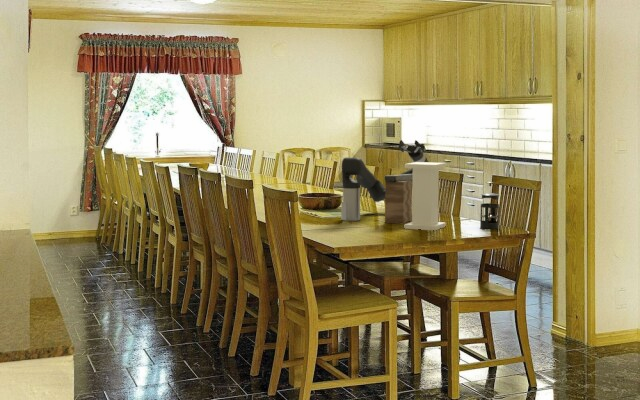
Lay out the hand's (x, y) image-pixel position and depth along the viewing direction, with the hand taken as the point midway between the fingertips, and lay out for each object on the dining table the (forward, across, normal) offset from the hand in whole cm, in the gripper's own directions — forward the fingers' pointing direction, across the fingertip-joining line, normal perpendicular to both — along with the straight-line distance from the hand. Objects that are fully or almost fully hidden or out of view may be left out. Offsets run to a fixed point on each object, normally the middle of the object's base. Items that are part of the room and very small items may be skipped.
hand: (408, 141), depth 455 cm
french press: (+1, +53, +48) cm, 72 cm away
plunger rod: (+7, +6, +26) cm, 28 cm away
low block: (-1, +4, +47) cm, 47 cm away
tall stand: (+11, +24, +54) cm, 60 cm away
